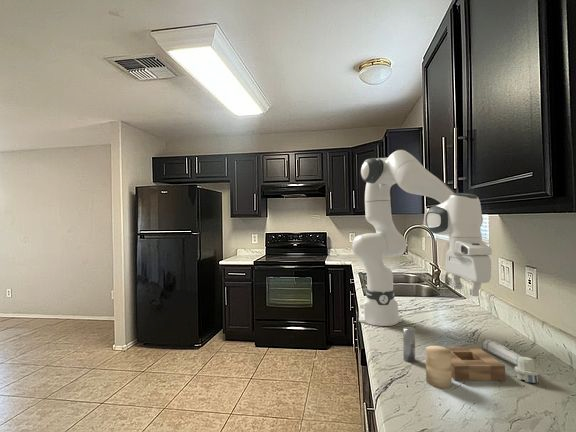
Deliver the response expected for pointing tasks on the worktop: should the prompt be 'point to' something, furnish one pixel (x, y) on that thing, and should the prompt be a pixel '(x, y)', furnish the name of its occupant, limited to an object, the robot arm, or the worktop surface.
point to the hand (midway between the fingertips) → (466, 292)
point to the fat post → (438, 366)
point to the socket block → (474, 365)
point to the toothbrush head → (513, 360)
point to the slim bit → (409, 344)
